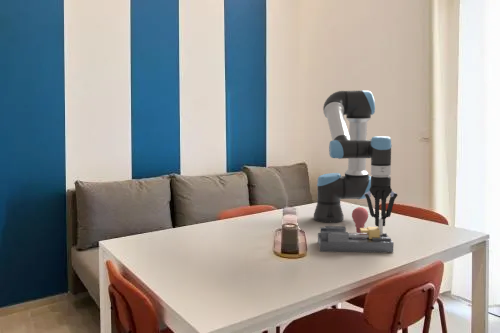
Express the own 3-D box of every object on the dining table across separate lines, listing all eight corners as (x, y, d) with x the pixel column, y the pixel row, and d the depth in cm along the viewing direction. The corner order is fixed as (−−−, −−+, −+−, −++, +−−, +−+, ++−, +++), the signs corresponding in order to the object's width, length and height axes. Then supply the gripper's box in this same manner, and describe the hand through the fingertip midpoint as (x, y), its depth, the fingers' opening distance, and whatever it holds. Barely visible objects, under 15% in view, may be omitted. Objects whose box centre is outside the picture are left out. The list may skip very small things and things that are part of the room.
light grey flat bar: (324, 237, 167) (324, 235, 167) (323, 235, 170) (323, 233, 170) (368, 237, 166) (368, 235, 165) (367, 235, 169) (367, 232, 168)
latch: (361, 239, 165) (361, 230, 164) (359, 235, 170) (359, 226, 169) (379, 239, 164) (379, 230, 164) (376, 235, 169) (377, 227, 169)
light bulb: (349, 234, 186) (350, 208, 184) (353, 230, 192) (354, 205, 190) (365, 236, 182) (366, 209, 181) (369, 232, 189) (370, 206, 187)
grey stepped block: (320, 251, 163) (320, 234, 162) (317, 242, 175) (318, 225, 174) (393, 252, 161) (393, 235, 160) (385, 243, 173) (386, 226, 172)
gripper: (365, 177, 161) (365, 236, 163) (400, 177, 159) (399, 236, 162) (362, 174, 168) (361, 231, 171) (395, 174, 167) (394, 231, 170)
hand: (380, 233), depth 167 cm, fingers closed
